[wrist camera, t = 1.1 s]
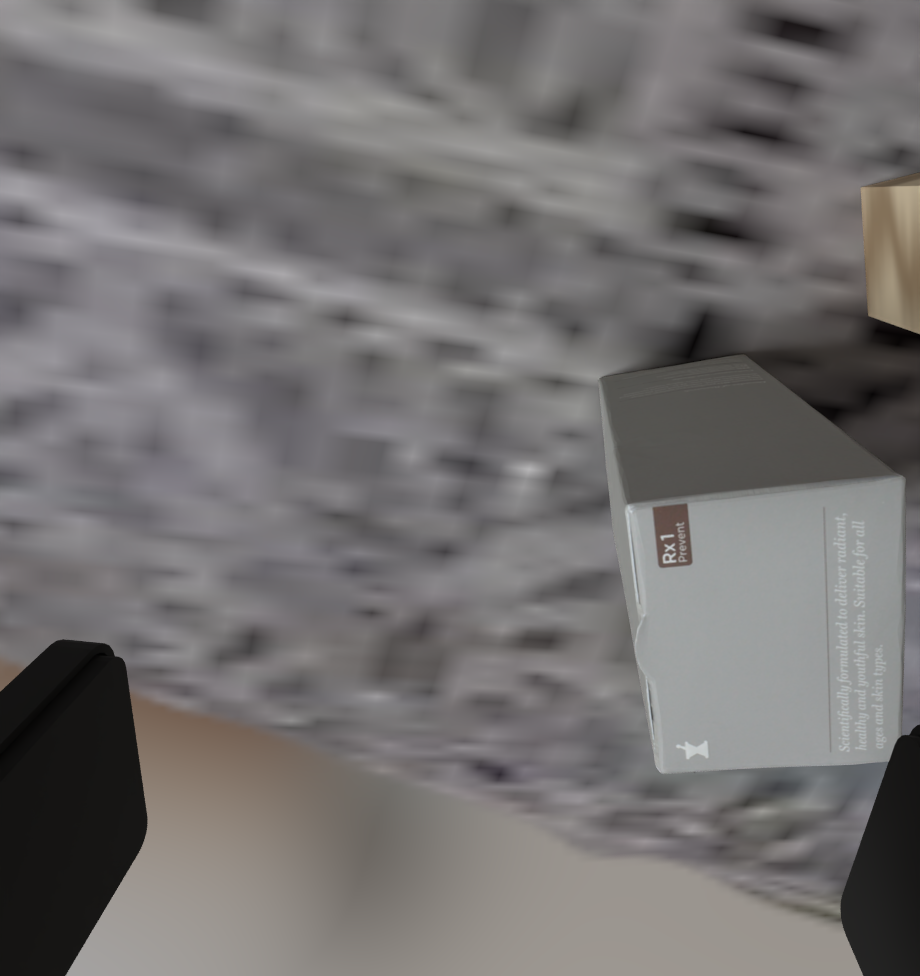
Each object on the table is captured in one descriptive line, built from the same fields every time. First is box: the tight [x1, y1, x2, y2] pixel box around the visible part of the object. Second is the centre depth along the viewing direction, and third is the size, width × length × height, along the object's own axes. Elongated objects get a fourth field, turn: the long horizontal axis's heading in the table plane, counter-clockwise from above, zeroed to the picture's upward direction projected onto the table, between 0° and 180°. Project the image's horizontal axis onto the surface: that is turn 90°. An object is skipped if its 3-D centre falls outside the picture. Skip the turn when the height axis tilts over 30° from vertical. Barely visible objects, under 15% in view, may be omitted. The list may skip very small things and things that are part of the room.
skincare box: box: [598, 354, 906, 774], centre depth 25 cm, size 8×7×16 cm
